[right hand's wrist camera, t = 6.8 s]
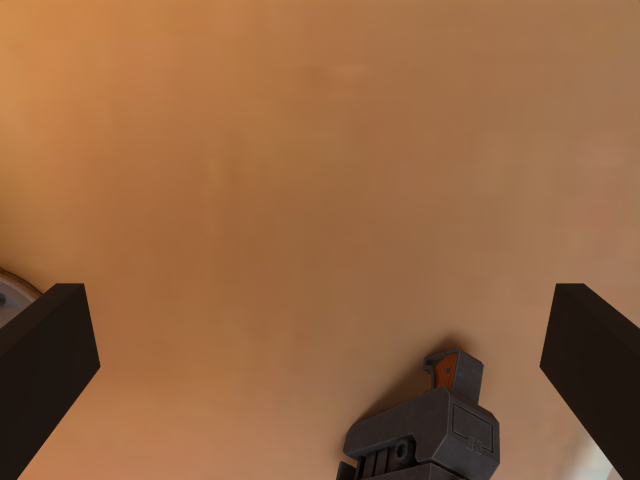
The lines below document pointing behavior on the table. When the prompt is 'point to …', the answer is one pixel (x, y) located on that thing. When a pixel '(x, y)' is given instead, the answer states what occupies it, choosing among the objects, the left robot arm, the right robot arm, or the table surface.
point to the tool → (430, 430)
